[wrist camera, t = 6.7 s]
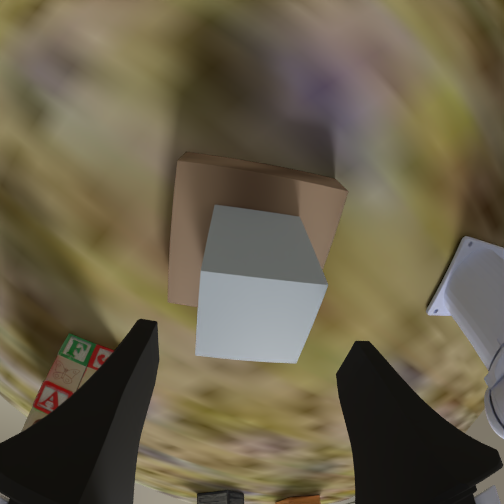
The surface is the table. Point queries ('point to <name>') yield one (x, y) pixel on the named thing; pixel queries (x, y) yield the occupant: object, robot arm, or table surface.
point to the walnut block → (242, 196)
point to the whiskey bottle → (301, 500)
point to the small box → (220, 497)
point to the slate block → (257, 287)
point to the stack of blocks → (67, 375)
